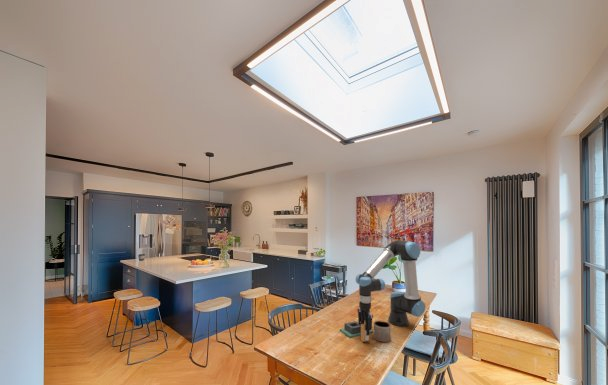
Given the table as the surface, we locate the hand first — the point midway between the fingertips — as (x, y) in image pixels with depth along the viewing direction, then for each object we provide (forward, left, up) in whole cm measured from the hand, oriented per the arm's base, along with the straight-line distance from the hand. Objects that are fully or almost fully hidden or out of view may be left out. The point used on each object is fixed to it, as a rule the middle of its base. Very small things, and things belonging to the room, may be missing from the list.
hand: (365, 338), depth 167 cm
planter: (-14, +1, -2) cm, 14 cm away
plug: (0, 0, -1) cm, 1 cm away
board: (-4, -14, -2) cm, 15 cm away
